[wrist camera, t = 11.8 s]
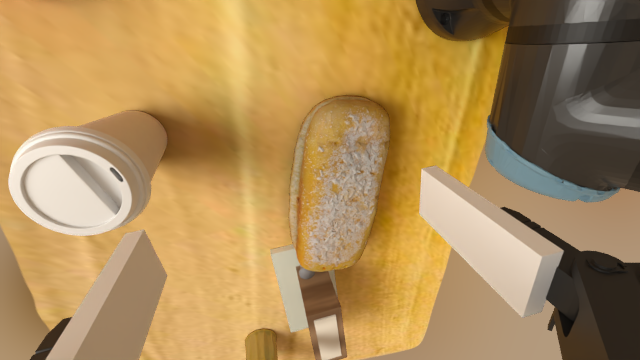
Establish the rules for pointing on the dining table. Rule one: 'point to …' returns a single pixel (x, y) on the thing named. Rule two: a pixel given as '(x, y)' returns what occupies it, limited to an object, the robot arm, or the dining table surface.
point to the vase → (261, 345)
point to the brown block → (323, 316)
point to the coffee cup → (88, 173)
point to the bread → (337, 181)
